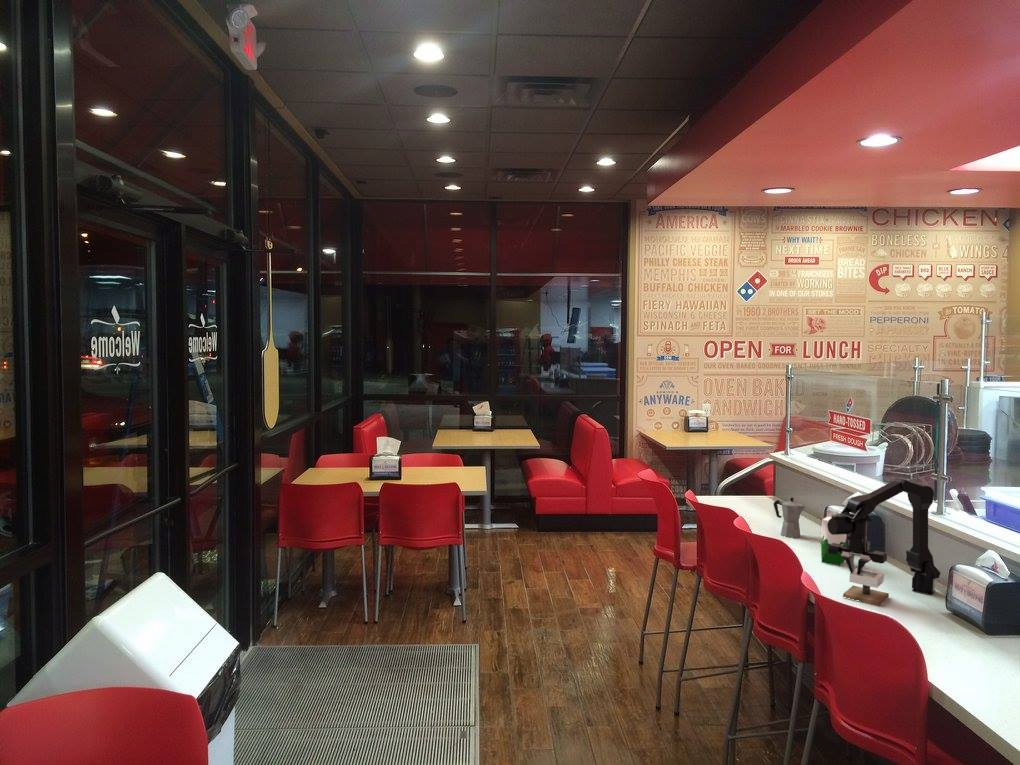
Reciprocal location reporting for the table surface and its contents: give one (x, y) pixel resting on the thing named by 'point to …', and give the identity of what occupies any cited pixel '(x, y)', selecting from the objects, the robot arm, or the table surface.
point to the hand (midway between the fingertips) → (855, 576)
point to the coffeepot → (790, 517)
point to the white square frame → (867, 578)
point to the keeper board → (866, 595)
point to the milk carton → (829, 539)
